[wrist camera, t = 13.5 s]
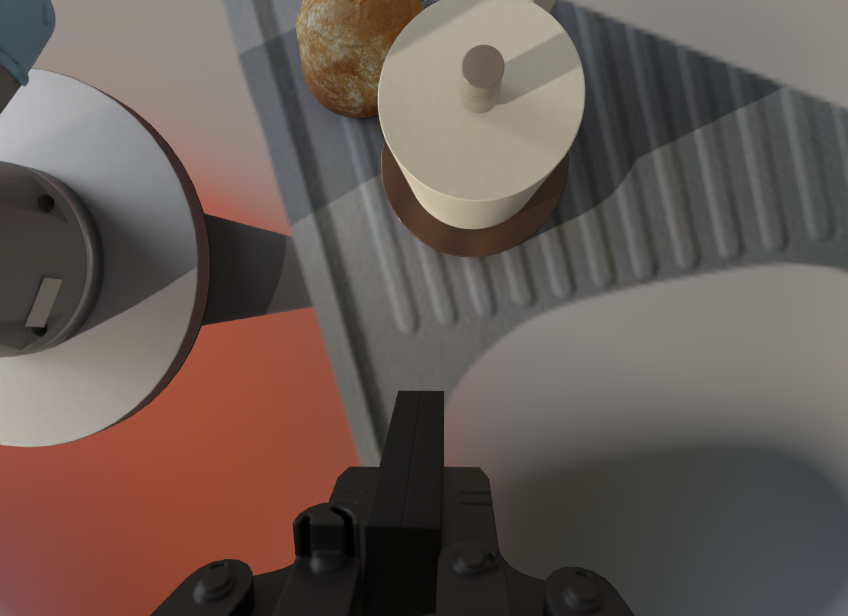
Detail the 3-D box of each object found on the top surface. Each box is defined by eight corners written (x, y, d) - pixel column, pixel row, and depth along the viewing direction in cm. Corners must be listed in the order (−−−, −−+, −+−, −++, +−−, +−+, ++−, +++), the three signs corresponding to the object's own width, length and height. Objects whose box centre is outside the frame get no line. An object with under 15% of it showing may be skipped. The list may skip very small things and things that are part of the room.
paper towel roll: (476, 257, 36) (483, 243, 23) (379, 166, 36) (336, 105, 24) (644, 77, 34) (749, -40, 22) (542, -17, 34) (588, -186, 22)
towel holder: (375, 248, 38) (303, 219, 21) (393, 68, 37) (333, -118, 20) (553, 265, 37) (633, 251, 20) (575, 82, 36) (679, -103, 19)
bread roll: (325, 28, 41) (251, -10, 34) (425, -41, 36) (361, -103, 29) (355, 141, 41) (288, 125, 34) (459, 88, 36) (404, 57, 29)
